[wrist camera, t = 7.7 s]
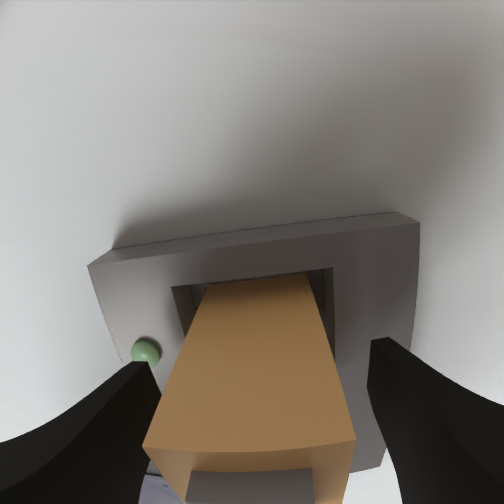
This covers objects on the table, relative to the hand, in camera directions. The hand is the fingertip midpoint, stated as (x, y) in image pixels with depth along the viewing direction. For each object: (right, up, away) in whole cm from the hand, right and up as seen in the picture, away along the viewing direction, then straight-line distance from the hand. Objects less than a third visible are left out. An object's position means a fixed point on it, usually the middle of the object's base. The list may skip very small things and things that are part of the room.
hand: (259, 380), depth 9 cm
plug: (0, +1, +4) cm, 4 cm away
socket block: (+1, -2, +5) cm, 5 cm away
